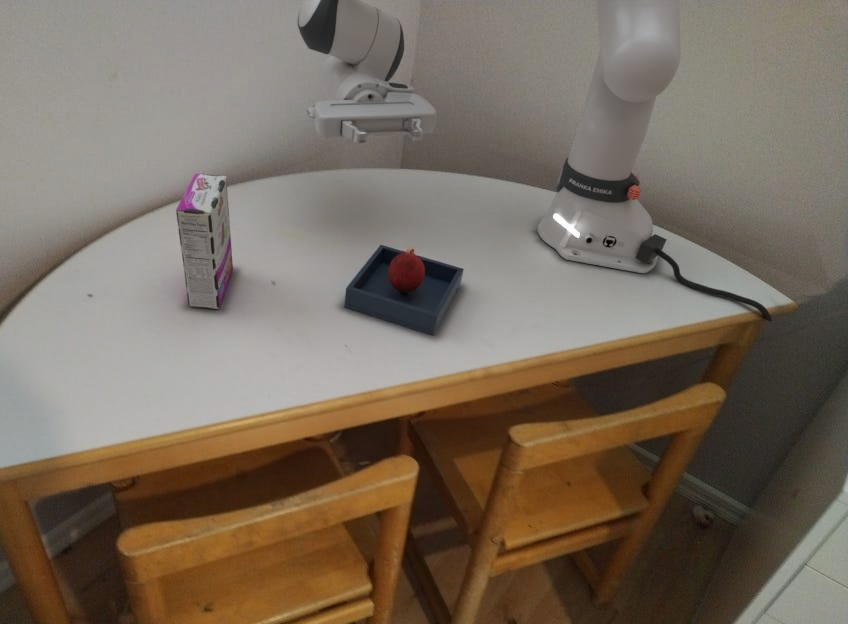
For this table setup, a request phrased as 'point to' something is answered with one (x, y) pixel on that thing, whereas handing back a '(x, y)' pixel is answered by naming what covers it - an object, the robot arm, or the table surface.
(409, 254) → the onion
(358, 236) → the table surface
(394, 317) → the tray
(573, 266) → the table surface
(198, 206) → the candy bar box
